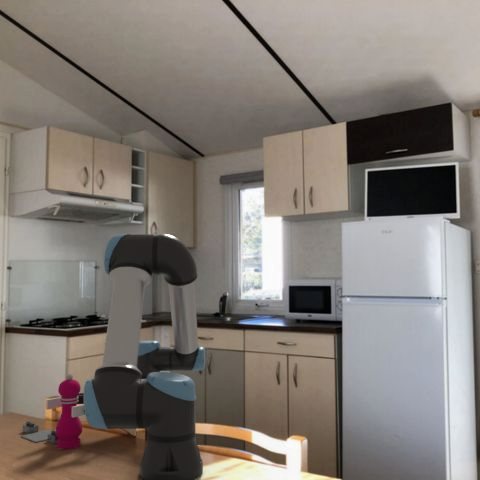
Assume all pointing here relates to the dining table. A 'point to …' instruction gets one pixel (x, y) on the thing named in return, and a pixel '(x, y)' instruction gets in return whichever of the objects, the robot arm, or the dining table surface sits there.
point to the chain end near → (53, 437)
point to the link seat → (38, 436)
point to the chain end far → (30, 427)
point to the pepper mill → (68, 415)
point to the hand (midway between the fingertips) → (59, 408)
